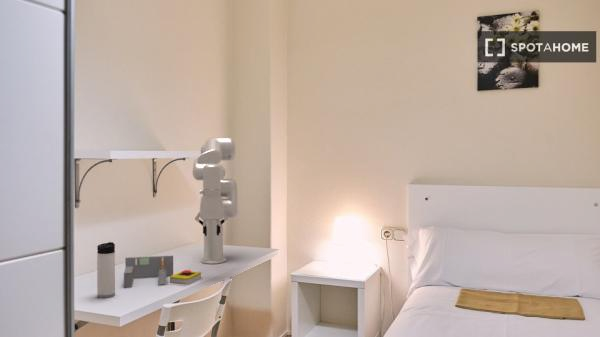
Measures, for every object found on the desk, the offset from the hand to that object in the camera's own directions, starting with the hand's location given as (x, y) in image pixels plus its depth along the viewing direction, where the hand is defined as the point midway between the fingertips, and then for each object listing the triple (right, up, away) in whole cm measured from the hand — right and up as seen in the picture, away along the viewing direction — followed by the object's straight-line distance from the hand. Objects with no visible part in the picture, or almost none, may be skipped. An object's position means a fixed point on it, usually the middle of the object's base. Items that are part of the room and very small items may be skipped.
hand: (211, 234), depth 214 cm
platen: (-20, -19, -5) cm, 28 cm away
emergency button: (-11, -20, -2) cm, 23 cm away
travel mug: (-36, -20, -25) cm, 48 cm away
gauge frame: (-26, -19, -4) cm, 32 cm away
